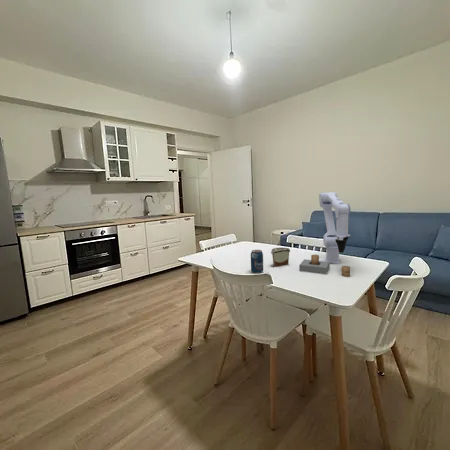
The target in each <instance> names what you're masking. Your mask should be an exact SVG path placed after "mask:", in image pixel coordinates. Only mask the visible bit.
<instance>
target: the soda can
mask: <svg viewBox="0 0 450 450" xmlns="http://www.w3.org/2000/svg"><path fill="white" fill-rule="evenodd" d="M250 270H251V272H252V273H253V274H260V273H263V271H264V253H263V251H262V250H261V249H252V250H251V253H250Z"/></svg>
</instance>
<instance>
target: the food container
mask: <svg viewBox="0 0 450 450" xmlns="http://www.w3.org/2000/svg"><path fill="white" fill-rule="evenodd" d="M290 252H291V250H290V248H289V247H274V248H272V249H271V250H270V254H272V255H271V256H272V264H273V267H274V268H279V267H285V266H289V264H290V263H289V260H290Z"/></svg>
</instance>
